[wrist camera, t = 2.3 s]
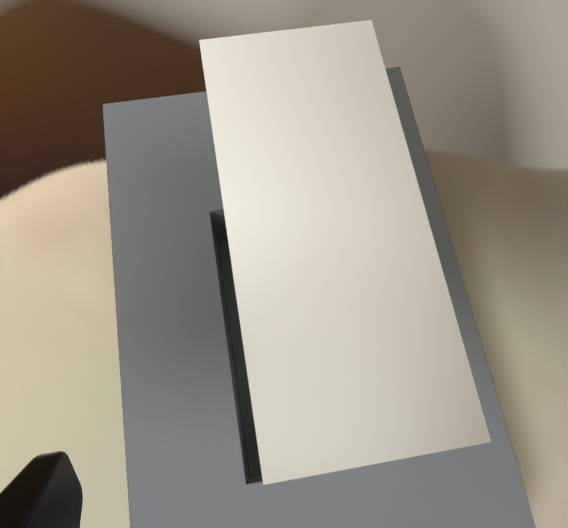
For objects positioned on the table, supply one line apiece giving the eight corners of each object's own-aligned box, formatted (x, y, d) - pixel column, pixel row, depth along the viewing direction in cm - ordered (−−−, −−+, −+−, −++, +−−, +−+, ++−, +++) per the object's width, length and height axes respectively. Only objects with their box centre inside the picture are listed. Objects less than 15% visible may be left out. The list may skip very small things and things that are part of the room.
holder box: (503, 583, 16) (564, 624, 13) (170, 653, 15) (142, 717, 12) (380, 121, 22) (399, 67, 18) (129, 155, 21) (102, 104, 18)
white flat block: (355, 431, 17) (491, 442, 6) (268, 447, 17) (263, 484, 6) (316, 243, 19) (371, 19, 8) (239, 255, 19) (199, 39, 8)
